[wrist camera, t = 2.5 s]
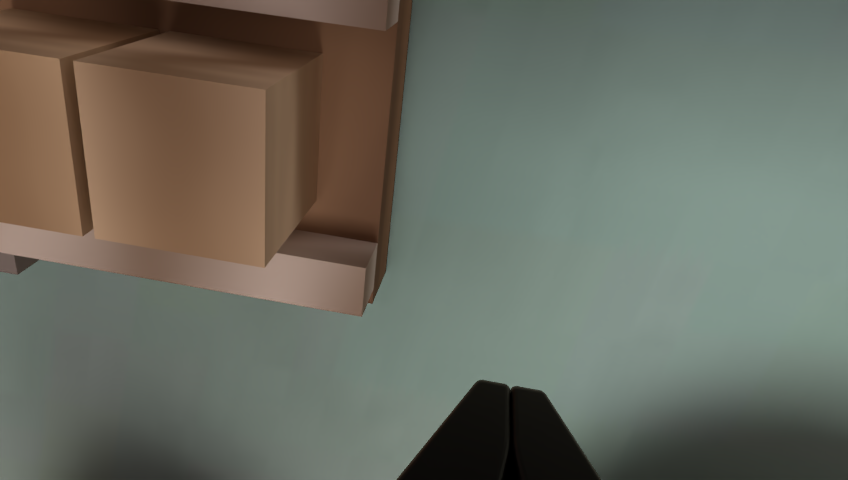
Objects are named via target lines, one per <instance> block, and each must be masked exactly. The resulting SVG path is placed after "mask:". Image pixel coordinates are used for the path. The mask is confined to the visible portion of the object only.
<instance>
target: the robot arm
mask: <svg viewBox="0 0 848 480" xmlns="http://www.w3.org/2000/svg"><path fill="white" fill-rule="evenodd" d="M397 480H601V479H600V477H599V475H598V474H597V472H596V471H595V469H594V468H593V466H592V465H591V463H590V462H589V460H588V459H587V457H586V455H585V454H584V452H583V451H582V449H581V448H580V446H579V445H578V443H577V442H576V440H575V439H574V437H573V435H572V434H571V432H570V431H569V429H568V428H567V426H566V425H565V423H564V422H563V420H562V419H561V417H560V415H559V414H558V412H557V411H556V409H555V408H554V406H553V405H552V403H551V402H550V400H549V399H548V397H547V395H546V394H545V393H544V392H542V391H540V390H535V389H530V388H524V387H519V386H514V387H512V388H511V390H510V388H509V386H507V385H506V384H502V383H497V382H491V381H486V380H479V381H477V382H476V383H475V384H474V385H473V386H472V388H471V389H470V390H469V391H468V393H467V394H466V395H465V396H464V397H463V399H462V400H461V401H460V402H459V404H458V405H457V406H456V407H455V408H454V410H453V411H452V412H451V413H450V415H449V416H448V417H447V418H446V419H445V421H444V422H443V423H442V424H441V426H440V427H439V428H438V429H437V431H436V432H435V433H434V434H433V435H432V437H431V438H430V439H429V440H428V442H427V443H426V444H425V445H424V446H423V448H422V449H421V450H420V451H419V453H418V454H417V455H416V456H415V458H414V459H413V460H412V461H411V462H410V464H409V465H408V466H407V467H406V469H405V470H404V471H403V472H402V473H401V475H400V476H399V477H398V478H397Z"/></svg>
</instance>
